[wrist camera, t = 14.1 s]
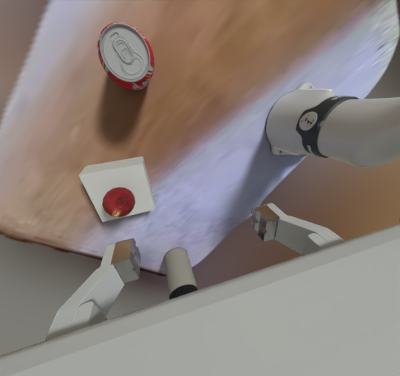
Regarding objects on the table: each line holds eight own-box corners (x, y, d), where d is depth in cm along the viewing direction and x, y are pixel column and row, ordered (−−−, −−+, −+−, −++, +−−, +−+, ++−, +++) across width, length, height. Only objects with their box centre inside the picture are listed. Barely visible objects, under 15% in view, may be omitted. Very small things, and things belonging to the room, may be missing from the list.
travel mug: (159, 259, 55) (165, 319, 40) (175, 244, 54) (187, 300, 39) (176, 266, 60) (187, 323, 45) (191, 252, 59) (208, 305, 44)
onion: (116, 175, 33) (109, 195, 27) (141, 189, 36) (140, 210, 30) (101, 196, 35) (90, 220, 28) (126, 208, 38) (122, 232, 31)
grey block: (142, 156, 38) (142, 163, 34) (154, 198, 44) (155, 209, 40) (86, 166, 36) (78, 175, 31) (106, 209, 42) (102, 222, 37)
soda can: (129, 98, 32) (123, 98, 22) (100, 58, 28) (77, 36, 18) (159, 78, 32) (166, 69, 22) (134, 34, 28) (129, 0, 18)
